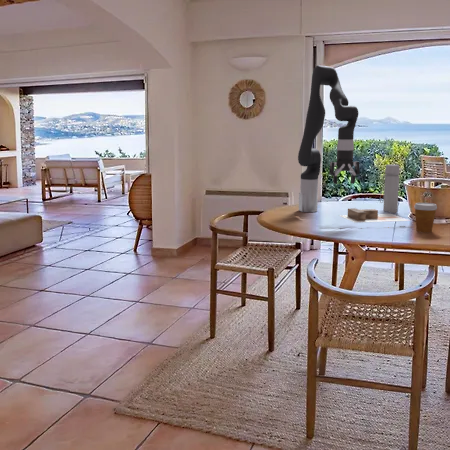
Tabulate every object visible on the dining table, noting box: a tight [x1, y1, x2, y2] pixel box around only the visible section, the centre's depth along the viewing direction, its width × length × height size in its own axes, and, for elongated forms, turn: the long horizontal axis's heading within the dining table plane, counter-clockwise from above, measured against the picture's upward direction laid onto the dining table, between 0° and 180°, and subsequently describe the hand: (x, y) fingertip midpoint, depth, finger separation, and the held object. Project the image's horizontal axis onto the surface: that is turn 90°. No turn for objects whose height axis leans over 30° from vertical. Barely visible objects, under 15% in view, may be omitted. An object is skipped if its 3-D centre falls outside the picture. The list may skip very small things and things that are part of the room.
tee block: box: [347, 207, 379, 221], centre depth 265 cm, size 12×12×4 cm
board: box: [338, 213, 411, 224], centre depth 266 cm, size 28×20×1 cm
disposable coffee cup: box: [413, 202, 438, 234], centre depth 239 cm, size 10×10×12 cm
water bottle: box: [379, 164, 401, 214], centre depth 287 cm, size 9×8×25 cm
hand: (343, 183), depth 260 cm, fingers open, 8 cm apart
